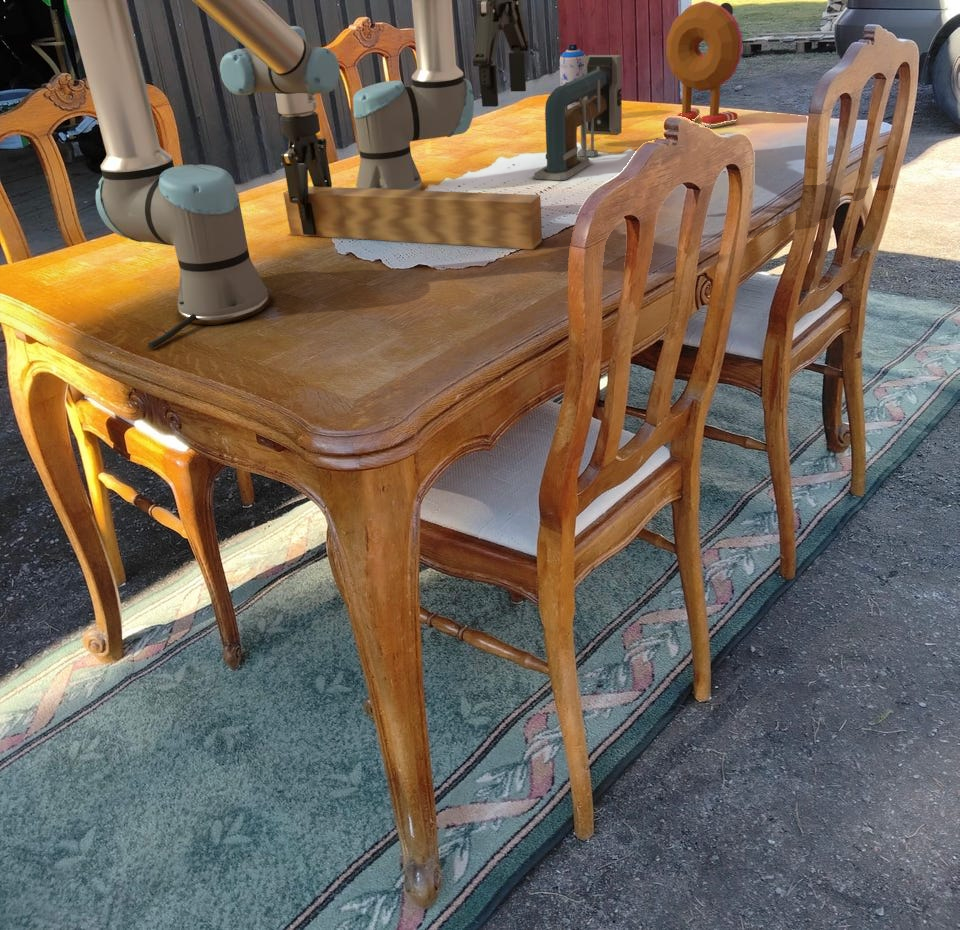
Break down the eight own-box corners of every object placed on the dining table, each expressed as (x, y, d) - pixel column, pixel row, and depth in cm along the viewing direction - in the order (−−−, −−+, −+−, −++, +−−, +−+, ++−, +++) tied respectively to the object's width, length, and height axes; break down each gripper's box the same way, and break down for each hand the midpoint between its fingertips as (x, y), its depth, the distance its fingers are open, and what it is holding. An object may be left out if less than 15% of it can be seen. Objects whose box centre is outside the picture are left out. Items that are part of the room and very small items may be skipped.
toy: (748, 122, 257) (756, -2, 242) (728, 130, 251) (735, 3, 236) (679, 116, 271) (683, -2, 255) (659, 123, 264) (661, 3, 249)
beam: (290, 234, 201) (283, 192, 196) (303, 227, 205) (296, 185, 201) (533, 249, 181) (530, 202, 177) (542, 240, 185) (540, 194, 181)
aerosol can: (559, 122, 275) (557, 47, 265) (562, 117, 282) (559, 42, 272) (587, 121, 274) (585, 45, 263) (589, 115, 280) (587, 41, 270)
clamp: (565, 180, 221) (562, 81, 210) (530, 178, 225) (526, 81, 214) (621, 144, 247) (621, 55, 236) (589, 143, 251) (588, 55, 240)
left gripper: (289, 123, 181) (309, 244, 192) (338, 103, 195) (354, 217, 207) (255, 123, 183) (278, 242, 195) (306, 103, 198) (324, 216, 209)
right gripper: (489, -30, 150) (498, 113, 160) (543, -44, 169) (547, 85, 180) (445, -28, 152) (457, 112, 163) (503, -41, 172) (510, 85, 183)
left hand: (317, 229), depth 201 cm, fingers closed on beam, 5 cm apart
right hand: (504, 98), depth 172 cm, fingers open, 13 cm apart
